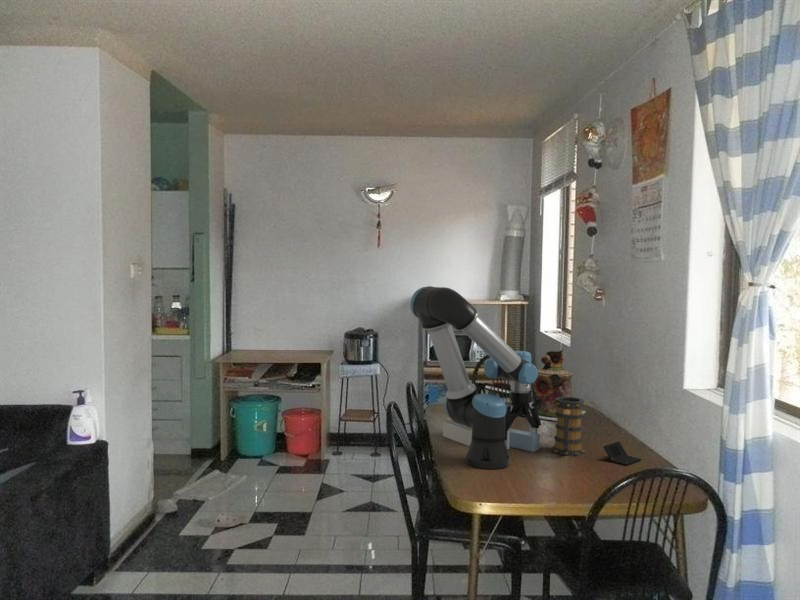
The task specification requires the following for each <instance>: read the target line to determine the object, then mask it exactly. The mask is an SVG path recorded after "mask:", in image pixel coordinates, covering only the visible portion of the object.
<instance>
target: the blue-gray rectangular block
mask: <svg viewBox="0 0 800 600" xmlns="http://www.w3.org/2000/svg"><path fill="white" fill-rule="evenodd" d="M508 432H509V448H514V449H518V450H523V451H527V452H536V451H539V450H540V447H541V446H540V444H541V443H540V439H541V438H540V437H541V436H540V434H541V433H540V434H539V433H537V434H536V433H531V432H529V431H526V430H520V429H517V428H511V427H510V428H509V430H508Z"/></svg>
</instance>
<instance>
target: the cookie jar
mask: <svg viewBox="0 0 800 600" xmlns="http://www.w3.org/2000/svg"><path fill="white" fill-rule="evenodd" d="M563 351H564V349H563V348H562V349H560V350H549V351H547V352H546V353H545V354H544V355H543V356H542V357H541V360H540V361H541V363H542V364H544V366H543V367H541V368H539V369H537V371H538V376H537V379H536V380H535V382H534V383H533V386H534V387H533V389H534V391H533V397H532V399H533V403H535V404H536V411H537V413H538V416H539V419H540V420H547V421H554V422H557V416H556V414H555V412H556V406H555V403H554V402H552V401H554V400H555V398H557V397H573V388H572V378H573V377H574V376H573V375H574V374H573V372H570V371H567V370H566V369H564V367H563V362H564V358H563ZM528 410H529V412H530V409H528ZM586 412H587V411H586V410H582V414H584V415H585V413H586ZM530 413H531V412H530ZM530 415H531V414H530ZM531 416H532V415H531ZM521 417H524V416H523V415H522V416H521Z"/></svg>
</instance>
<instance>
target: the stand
mask: <svg viewBox="0 0 800 600" xmlns="http://www.w3.org/2000/svg"><path fill="white" fill-rule="evenodd" d="M442 437H444V438H447V439H449V440H452V441H455V442H458V443H461V445H465V446H468V447H469V446H470V443H471V440H472V428H470V427H467V426H465V425H461V424H458V423H456V422H455V421H453V420H451V419H450V418H449V417H446V418H444V421H443V422H442Z"/></svg>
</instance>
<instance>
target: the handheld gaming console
mask: <svg viewBox="0 0 800 600" xmlns="http://www.w3.org/2000/svg"><path fill="white" fill-rule="evenodd" d="M603 449H604V451H605V452H606V455H607V457H609V459H610V463H612V464H615V465H619V466H623V467H629V466H631V465H634V464H637V463H639V462H641V461H642V458H640V457H635V456H630V455H628V454H627V452H626V451H625V449H624V448H623V445H622V444H621V442H620V441H616V442H613V443H610V444H606V445H604V446H603Z"/></svg>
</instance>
